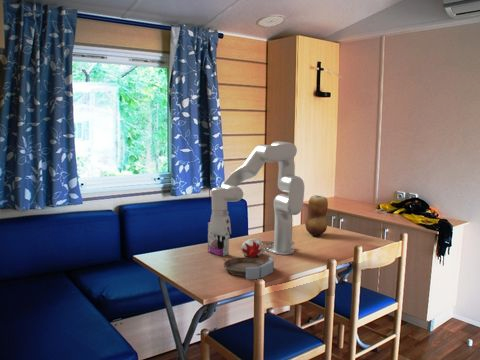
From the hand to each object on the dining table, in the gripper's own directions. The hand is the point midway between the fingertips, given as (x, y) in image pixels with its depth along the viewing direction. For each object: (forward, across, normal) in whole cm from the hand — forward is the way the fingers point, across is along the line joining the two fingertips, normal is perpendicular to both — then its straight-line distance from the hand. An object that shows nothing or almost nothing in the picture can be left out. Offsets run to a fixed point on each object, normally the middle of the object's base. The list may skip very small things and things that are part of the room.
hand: (220, 248), depth 216 cm
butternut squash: (+11, -14, -78) cm, 80 cm away
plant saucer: (+8, -16, +2) cm, 18 cm away
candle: (+8, -7, -17) cm, 20 cm away
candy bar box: (+8, +10, -10) cm, 16 cm away
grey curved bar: (+7, -25, +1) cm, 27 cm away
